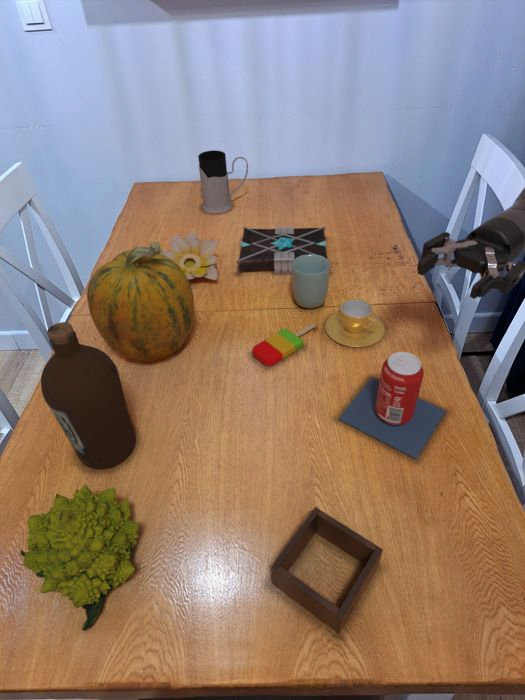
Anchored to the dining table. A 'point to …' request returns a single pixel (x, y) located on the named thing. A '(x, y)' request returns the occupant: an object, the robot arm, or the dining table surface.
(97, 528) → the vegetable
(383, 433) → the mat
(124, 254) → the pumpkin
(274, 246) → the book
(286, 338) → the popsicle
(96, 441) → the olive oil
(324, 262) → the cup
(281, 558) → the can holder
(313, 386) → the dining table surface
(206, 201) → the glass holder
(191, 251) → the decorative flower
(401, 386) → the beverage can
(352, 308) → the cup
